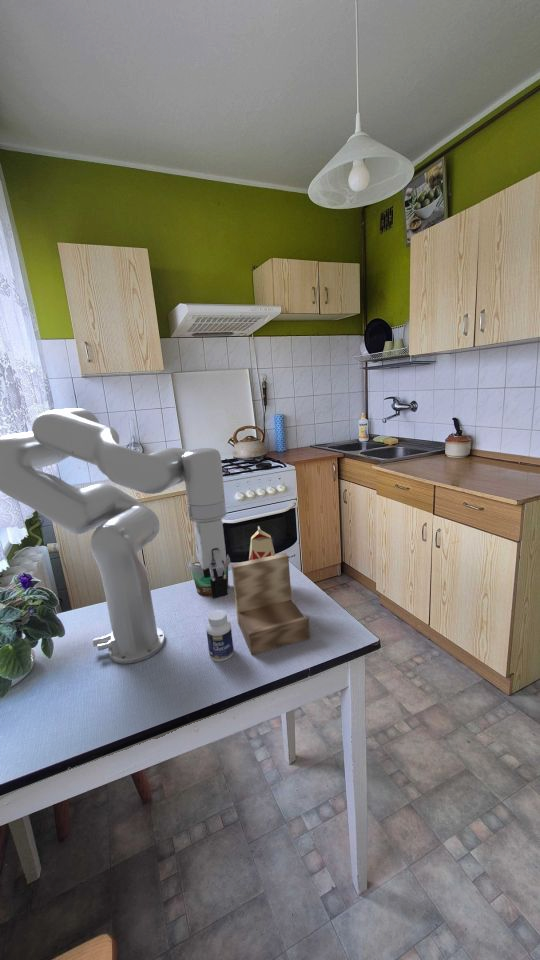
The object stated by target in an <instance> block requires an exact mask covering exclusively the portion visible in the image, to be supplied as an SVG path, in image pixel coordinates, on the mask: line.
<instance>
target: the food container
mask: <svg viewBox="0 0 540 960" xmlns="http://www.w3.org/2000/svg"><path fill="white" fill-rule="evenodd" d="M230 564H231V558H230V556H229V555H226V564H225V565H224V570H225V574H226V579H227V589H229V565H230ZM188 569H189V570H190V572H191V573H192V576H193V577H192V578H193V582H194V584H195V589H196V593H197V594H198V596H202V597H209V598H210V597H211V598H212V593H211V584H210V580H211V577H207V578H205V577H204V573H203V568H202V567H201V565H200V562H199V561H196V562H191V561H189V562H188Z"/></svg>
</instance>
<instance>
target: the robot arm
mask: <svg viewBox="0 0 540 960" xmlns="http://www.w3.org/2000/svg"><path fill="white" fill-rule="evenodd" d="M31 428H32V429H31V431H27V432H26V431H25V432H20V433H18V432H17V433H10V434H6V435H2V436H0V491H1V492H2V493H3V494H5V496H8V497H10V498H12V499H14V500H16V501H18V502H19V503H22V504H24V505H25V506H28V508H31V509H32V510H35V511H36V512H37V513H38V514H40V515H42V516H44V518H46V519H48V520H49V521H50V522H53V523H54V524H56V525H57V526H58V527H61V528H62V529H63V530H65V531H67V532H69V533H71V534H74V535H84V534H87V533H89V532H91V531H93V530H94V532H93V533H92V535H91V538H90V549H91V552H92V555H93V557H94V559H95V561H96V564H97V567H98V570H99V572H100V576H101V581H102V585H103V590H104V595H105V596H104V597H105V601H106V605H107V611H108V615H109V621H110V628H111V632H108V633H107V634H106V635H102V636H98V637H97V636H96V637H94V638H92V645H93V647H97V651H104V650H108V656H109V658H110V660H112V661H113V662H115V663H118V664H134V663H138V662H141V661H145V660H147V659H149V658H151V657H152V656H154V655H155V654H156V653H158V652H159V651H160V650H161V648H163V646H164V644H165V641H166V637H165V636H166V635H165V632H164V631H163V630H162V628H160V627H158V626H157V622H156V617H155V616H156V615H155V612H154V611H155V610H154V605H153V598H152V592H151V586H150V580H149V574H148V570H147V568H146V565H145V564H144V562H143V561H142V560H141V557H140V556H139V555H140V553H139V552H140V551H141V550H142V549H144V547H146V546H147V545H148V544H150V543H151V542H152V541H154V540H155V539H156V537H157V536H158V534H159V532H160V529H161V523H160V519H159V517H158V515H157V514H156V513H155V512H154V511H153V510H152V509H151V508H149V506H147V505H145V504H144V503H142V502H141V501H140V500H138V499H136V498H134V497H133V496H131V495H129V494H127V493H126V492H124V491H123V490H121V489H120V488H118V487H116V486H115V485H112V484H108V483H96V484H90V485H89V486H86V487H82V488H79V487H78V488H77V487H75V486H73V485H71V484H69V483H67V482H66V481H64V480H63V479H61V478H60V477H57V476H56V475H54V474H50V473H47V472H43V471H40V470H37V469H41V468H45V467H48V466H53V465H55V464H57V463H60V462H62V461H65V460H66V459H68V458H69V457H72V458H75V459H77V460H81V461H84V462H87V463H89V464H92V465H95V466H96V467H97V468H98V470H99V471H100V472H101V473H102V474H103V475H104V477H106V478H107V479H109V480H110V481H111V482H113V483H114V484H116V485H120V486H121V487H124V488H128V489H130V490H133V491H136V492H139V493H144V494H152V495H154V494H160V493H162V492H165V491H167V490H169V489H170V488H172V487H174V486H176V485H179V484H181V483H183V482H184V483H185V484H184V485H185V493H186V502H187V509H188V518H189V520H190V521H192V522H193V528H194V539H195V540H194V541H195V551H196V553H195V554H196V556H197V559H198V562H200V565H201V567H202V568H203V573H204V577H205V578H207V577H211V580H210V584H211V593H212V596H211V598H212V599H213V600H215V599H218V598H223V597H227V596H228V595H229V590H228V589H229V588H228V589H227V579H226V574H225V570H224V565H225V564H226V557H227V554H226V544H225V543H226V542H225V541H226V540H225V535H224V534H225V533H224V526H223V520H222V519H223V518H225V517H226V516H227V510H226V509H227V508H226V507H227V506H226V500H225V499H226V497H225V488H224V477H223V465H222V458H221V453H220V452H219V450H218V449H216V448H213V447H212V448H211V447H209V448H208V447H204V448H202V447H201V448H194V449H189V448H188V449H186V448H180V447H168V448H165V449H162V450H157V451H155V452H151V453H149V454H146V453H144V452H139V451H137V450H135V449H134V450H133V449H132V448H131V449H130V448H127V447H125V446H123V445H121V444H120V436H119V433H118V431H117V430H116V429H115V428H114V427H111V426H108V425H105V424H102V423H100V421H99V419H98V418H97V416H96V415H95V414H93V413H92V412H91V411H89V410H87V409H86V408H78V407H77V408H75V407H74V408H63V409H62V408H61V409H60V408H59V409H52V410H46V411H44V412H42V413H40V414H39V415H38V416H36V418H35V419H34V421H33V422H32V426H31Z"/></svg>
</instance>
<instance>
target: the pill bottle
mask: <svg viewBox="0 0 540 960" xmlns="http://www.w3.org/2000/svg"><path fill="white" fill-rule="evenodd" d="M207 618H208V623H207V624H206V636H207V646H208V654H209V658H210V659H211V660H213V661H215V662H223V661H227V660H229V659H230V658H232V656H233V655H234V642H233V632H232V625H231V624H232V623H231V621H230V620H228V615H227V612H226V611H225V610H222V609H216V610H213V611H210V613H208V616H207Z"/></svg>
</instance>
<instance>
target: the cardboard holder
mask: <svg viewBox="0 0 540 960" xmlns="http://www.w3.org/2000/svg"><path fill="white" fill-rule="evenodd" d="M289 560H290V559H289V555H288V554H287V553H286V552H285V553H280V554H275V555H274V556H269V557H264V558H259V559H255V560H250V561H249V560H246V561H241V562H236V563H232V564H231V563H230V564H231V573H232V582H233V584H232V585H233V590H234V592H233V593H234V602H235V610H236V617H237V619H236V621H237V625H238V627H239V629H240V633H241V634H242V637H243V639H244V641H245V643H246V645H247V648H248V650H249V653H250V655H251V656H253V655H256V654H259V653H263V652H266V651H270V650H274V649H277V648H280V647H281V648H282V647H283V646H288V645H292V644H295V643H299V642H302V641H305V640H309V639H311V632H310V619H309V617H308V615H306V616H304V614H303V613H302V612H301V610H300V609H299V607H298V606H297V605H296V603H295V602H294V601H293V599H292V588H291V587H292V585H291V575H290V561H289Z"/></svg>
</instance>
